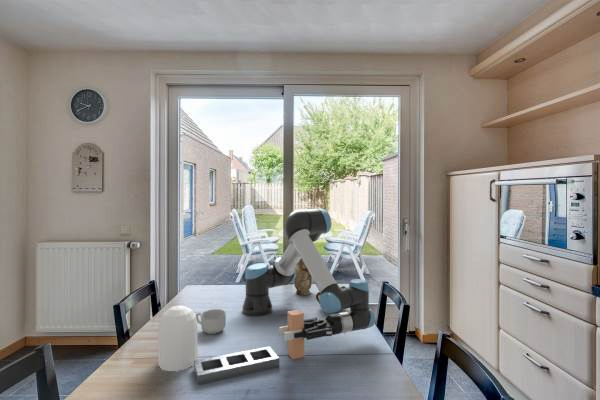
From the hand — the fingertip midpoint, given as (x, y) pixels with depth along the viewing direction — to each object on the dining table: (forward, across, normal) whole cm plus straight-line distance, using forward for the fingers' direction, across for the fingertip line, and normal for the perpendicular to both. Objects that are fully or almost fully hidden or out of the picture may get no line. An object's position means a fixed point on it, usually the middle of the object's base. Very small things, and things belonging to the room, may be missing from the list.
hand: (282, 333), depth 125 cm
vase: (-40, +72, -9) cm, 83 cm away
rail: (+17, 0, -9) cm, 19 cm away
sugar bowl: (-41, +38, -9) cm, 57 cm away
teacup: (+20, +37, -9) cm, 43 cm away
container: (+35, +13, -9) cm, 38 cm away
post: (-5, 0, -9) cm, 10 cm away
